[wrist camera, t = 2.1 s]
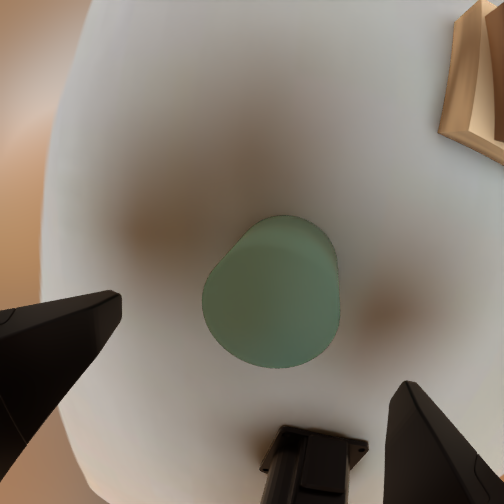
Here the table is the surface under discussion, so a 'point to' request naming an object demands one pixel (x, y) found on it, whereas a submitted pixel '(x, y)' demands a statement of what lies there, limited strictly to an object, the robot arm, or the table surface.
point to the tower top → (497, 66)
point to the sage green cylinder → (275, 294)
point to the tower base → (471, 86)
